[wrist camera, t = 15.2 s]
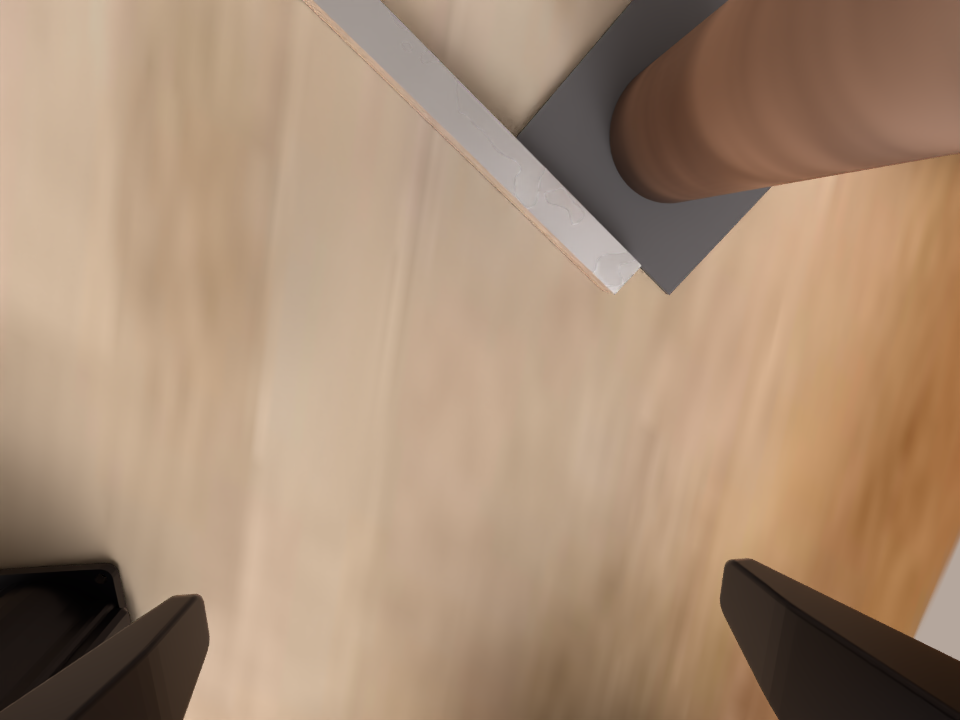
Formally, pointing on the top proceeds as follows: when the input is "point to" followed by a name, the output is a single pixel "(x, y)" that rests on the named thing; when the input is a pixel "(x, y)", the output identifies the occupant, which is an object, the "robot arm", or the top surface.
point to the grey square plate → (587, 154)
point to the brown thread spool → (791, 96)
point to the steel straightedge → (478, 136)
